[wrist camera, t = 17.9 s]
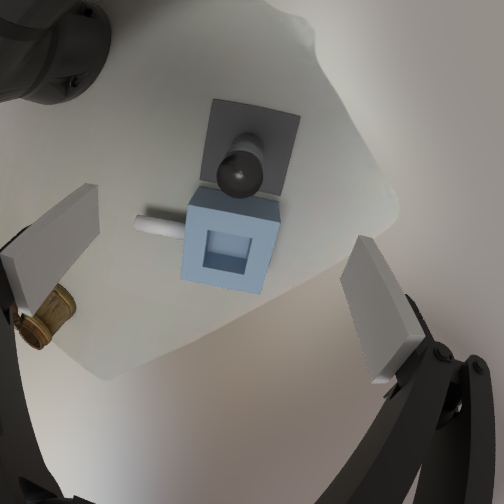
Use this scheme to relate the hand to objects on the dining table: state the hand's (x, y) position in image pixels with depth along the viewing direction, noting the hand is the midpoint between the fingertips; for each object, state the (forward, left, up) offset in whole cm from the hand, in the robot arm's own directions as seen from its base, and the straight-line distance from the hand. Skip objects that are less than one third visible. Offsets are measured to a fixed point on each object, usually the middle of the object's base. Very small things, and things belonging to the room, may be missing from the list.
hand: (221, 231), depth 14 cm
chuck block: (+11, -3, -22) cm, 25 cm away
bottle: (0, 0, -22) cm, 22 cm away
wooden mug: (+31, -33, -22) cm, 50 cm away
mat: (0, 0, -22) cm, 22 cm away
